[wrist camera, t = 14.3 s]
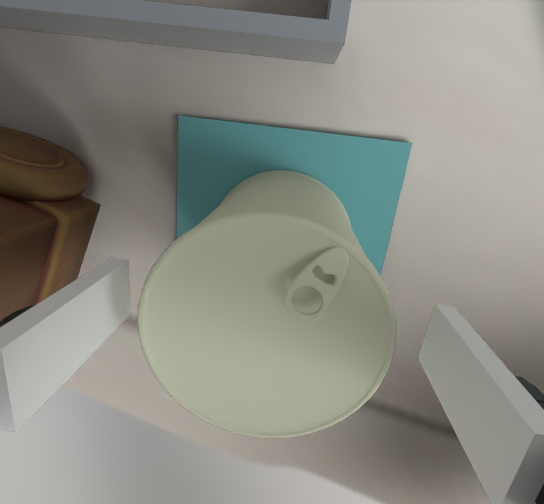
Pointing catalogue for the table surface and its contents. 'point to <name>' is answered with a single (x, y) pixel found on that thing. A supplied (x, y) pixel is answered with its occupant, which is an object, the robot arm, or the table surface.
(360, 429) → the table surface
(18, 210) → the wooden toy train
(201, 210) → the mat
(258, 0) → the table surface
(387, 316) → the can
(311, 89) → the table surface
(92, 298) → the robot arm
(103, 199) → the table surface
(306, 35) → the crate
